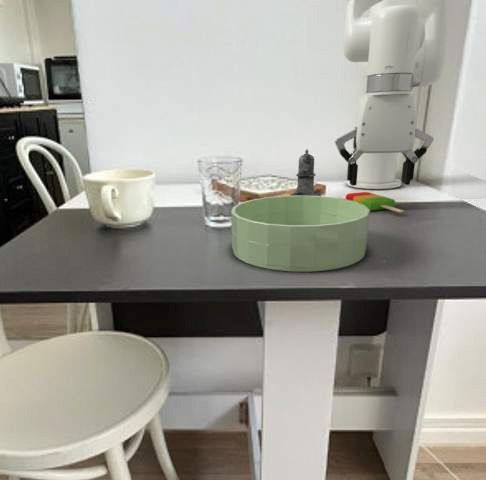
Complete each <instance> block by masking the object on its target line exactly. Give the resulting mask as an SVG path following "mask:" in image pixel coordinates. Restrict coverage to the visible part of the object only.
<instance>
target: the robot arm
mask: <svg viewBox="0 0 486 480" xmlns="http://www.w3.org/2000/svg"><path fill="white" fill-rule="evenodd" d="M368 10H369V14H368V16H365V17H364V16H363V15H364V13H366V12H367V11H368ZM362 16H363V17H362ZM447 18H448V2H447V0H348V3H347V6H346V10H345V16H344V26H343V37H342V50H343V55H344V57H345V58H346V60H347V61H349V62H352V63H358V79H359V81H358V82H359V101H358V104H357V105H358V106H357V108H356V109H357V110H356V115H355V121H354V129H352V130H351V131H348V132H347V133H344V134H343V135H341V136H339V137H338V138H335V140H334V144H335V146H336V149H337V150H338V153H339V155H340V156H341V158H343V159H344V161H346V162H347V173H346V180H347V181H346V182H347V186H349V187H351V188H356V189H363V190H390V189H396V188H399V187H401V186H402V184H403V185H406V186H410V184H411V181H412V180H413V179H414V173H415V166H416V163H417V162H418V161H419V160H420V159H421V158H422V157H423V156H424V155H425V154H426V153H427V151H428V149H429V148H430V146H431V145H432V144H433V142H434V139H435V138H434V137H433V136H431V135H430V134H428V133H426V132H424V131H422V130H421V129H419V128H416V99H415V94H414V93H411V92H412V91H413V89H415V88H420V87H428V86H432V85H434V84H436V83H437V82H438V81H439V79H440V77H441V76H442V72H443V70H444V64H445V53H446V52H445V51H446V36H447ZM415 138H416V139H418V140H420V141H421V143H420V145H419V146H418V147H417V148H415V150H414V151H413V147H414V144H415ZM351 140H352V149H353V150H352V151H351V153H350V152H349V151H348V150H347V148H346V146H345V144H346V143H347V142H349V141H351ZM400 153H401V154H402V156H403V157H404V158H405V161H404V162H403V163H402V170H401V179H399V178H396V173H397V164H398V154H400Z"/></svg>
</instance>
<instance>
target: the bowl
mask: <svg viewBox="0 0 486 480" xmlns="http://www.w3.org/2000/svg"><path fill="white" fill-rule="evenodd" d="M230 213H231V214H230V216H231V218H230V219H231V222H230V223H231V249H232V254H233V255H234V256H235V257H236V258H237V259H239V260H240V261H242V262H244V263H246V264H248V265H252V266H255V267H258V268H262V269H268V270H272V271H273V270H274V271H282V272H298V273H306V272H308V273H311V272H323V271H333V270H336V269H342V268H346V267H349V266H352V265H354V264H356V263H358V262H360V261H361V260H362V259H363V258H364V257H365V255H366V250H367V247H368V235H369V225H370V214H371V211H370V210H369V209H368V208H367V207H366V206H365V205H363V204H360V203H358V202H355V201H351V200H346V198H341V197H333V196H326V195H325V196H324V195H321V196H306V195H297V196H289V195H277V196H266V197H259V198H254V199H250V200H247V201H243V202H240V203H238V204H236V205H234V206H232V208H231V211H230Z"/></svg>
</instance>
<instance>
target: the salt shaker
mask: <svg viewBox="0 0 486 480" xmlns="http://www.w3.org/2000/svg"><path fill="white" fill-rule="evenodd" d="M309 152H310V151H309V150H308V149H305V151H304V154H302V155H300V156H299V158H298V171H297V173H296V177H297V185H296V190H295V191H294V192H292V193H290V194H289V195H288V196H297V195H306V196H322V194H321V193H319V192H317V191H316V189H315V186H314V184H315V181H314V180H315V177H316V173H315V157H314V156H313V155H312V154H311V153H309Z"/></svg>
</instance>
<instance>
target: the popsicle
mask: <svg viewBox="0 0 486 480" xmlns="http://www.w3.org/2000/svg"><path fill="white" fill-rule="evenodd" d="M345 199H346V200H351V201H355V202H358V203H360V204H363V205H365V206H366V207H367V208H368V209H369V210H370V212H372V211H380V210H389V211H392V212H395V213H399V214H401V213H402V214H403V213H404V211H405V210H403V209H400V208H397V207H395V205H396V201H395V199H393V198H391V197H387V196H383V195H379V194H376V193H373V192H369V191H360V192H353V193H352V192H350V193H347V194H346V195H345Z"/></svg>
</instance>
